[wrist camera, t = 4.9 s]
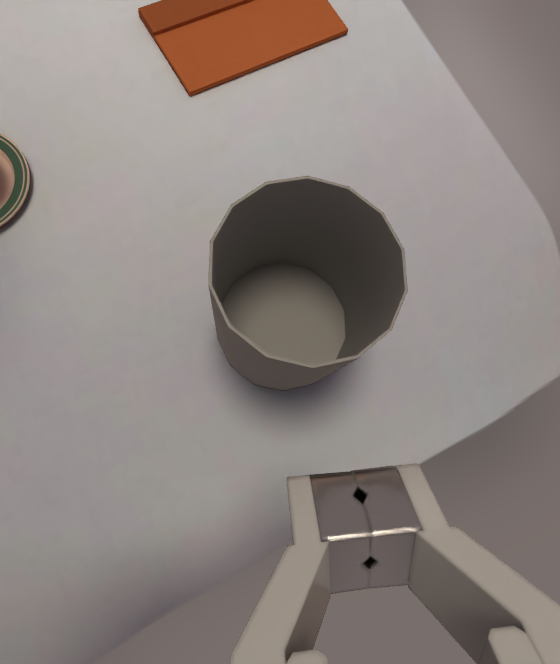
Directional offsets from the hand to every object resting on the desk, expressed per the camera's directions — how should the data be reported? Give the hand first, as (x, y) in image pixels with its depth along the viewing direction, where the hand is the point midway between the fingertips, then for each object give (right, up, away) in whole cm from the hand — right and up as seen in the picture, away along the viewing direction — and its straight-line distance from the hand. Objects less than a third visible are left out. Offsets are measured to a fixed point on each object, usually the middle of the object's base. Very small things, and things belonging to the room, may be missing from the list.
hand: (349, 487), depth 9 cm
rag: (-4, +27, +22) cm, 36 cm away
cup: (-2, +4, +17) cm, 18 cm away
